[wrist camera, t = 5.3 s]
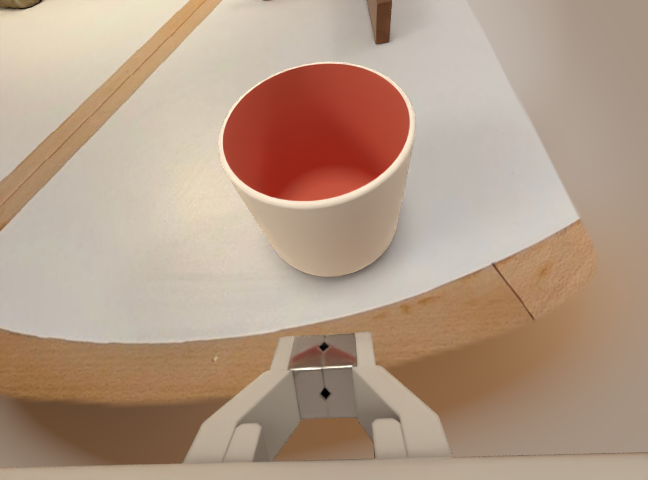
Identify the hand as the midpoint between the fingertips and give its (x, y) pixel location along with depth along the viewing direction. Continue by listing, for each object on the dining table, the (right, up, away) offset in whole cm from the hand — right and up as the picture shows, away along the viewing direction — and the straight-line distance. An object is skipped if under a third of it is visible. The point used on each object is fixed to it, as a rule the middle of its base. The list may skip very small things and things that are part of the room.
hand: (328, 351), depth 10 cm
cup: (+1, +5, +14) cm, 15 cm away
